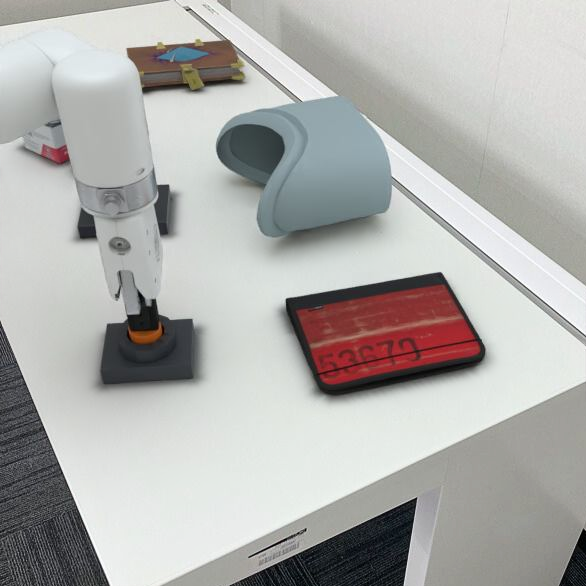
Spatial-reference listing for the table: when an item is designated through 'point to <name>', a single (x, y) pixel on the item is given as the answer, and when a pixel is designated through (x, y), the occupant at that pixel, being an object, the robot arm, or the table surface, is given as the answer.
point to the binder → (384, 333)
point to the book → (186, 63)
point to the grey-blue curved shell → (309, 163)
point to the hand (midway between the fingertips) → (145, 326)
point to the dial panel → (161, 208)
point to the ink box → (48, 141)
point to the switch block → (148, 353)
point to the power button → (146, 336)
